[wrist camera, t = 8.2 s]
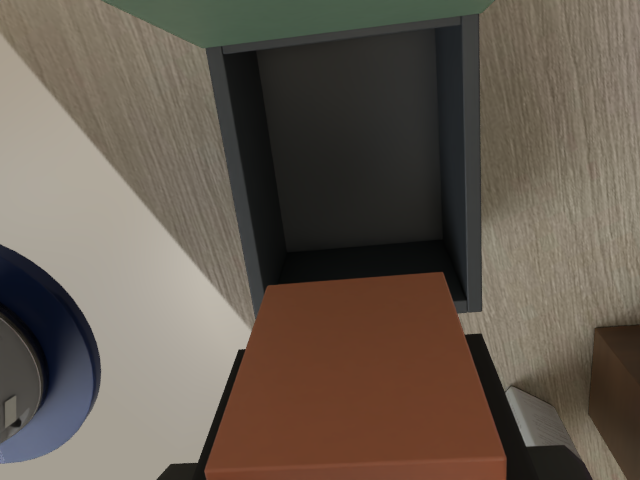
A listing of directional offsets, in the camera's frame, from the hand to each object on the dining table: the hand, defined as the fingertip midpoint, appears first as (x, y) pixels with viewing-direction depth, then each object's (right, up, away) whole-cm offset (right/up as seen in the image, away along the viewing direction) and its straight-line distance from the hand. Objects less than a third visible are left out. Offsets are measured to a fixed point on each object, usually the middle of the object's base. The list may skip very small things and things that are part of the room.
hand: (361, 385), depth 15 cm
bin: (+1, +10, +22) cm, 24 cm away
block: (0, +1, +1) cm, 2 cm away
